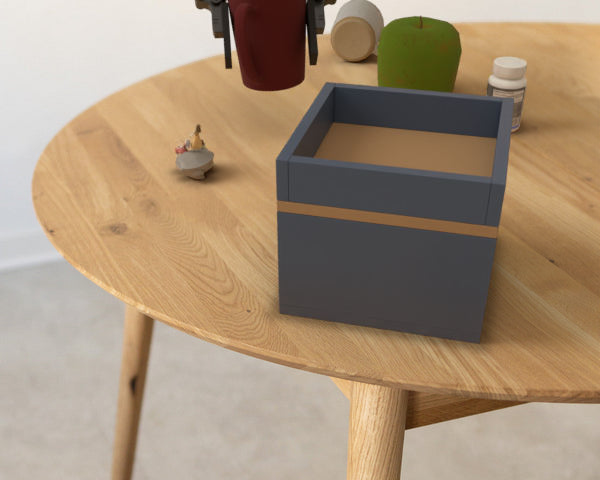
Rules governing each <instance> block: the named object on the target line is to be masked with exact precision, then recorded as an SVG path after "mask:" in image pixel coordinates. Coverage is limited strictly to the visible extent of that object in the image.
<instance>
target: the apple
mask: <svg viewBox="0 0 600 480" xmlns="http://www.w3.org/2000/svg"><path fill="white" fill-rule="evenodd" d="M461 42H462V41H461V36H460V32H459V31H458V30H457V28H456V27H455V26H454V25H453V24H452V23H450V22H448V21H447V20H442V19H439V18H433V17H430V16H429V17H428V16H422V15H413V16H405V17H400V18H395V19H393V20H391V21H389V23H387V24H386V25H384V28H383V29H382V30H381V35H380V39H379V42H378V44H377V45H378V47H377V56H376V58H377V59H376V60H377V61H376V65H377V66H376V68H377V71H376V73H377V86H379V87H390V88H402V89H413V90H425V91H436V92H448V93H452V92H453V91H454V90H455V85H456V81H457V76H458V71H459V66H460V62H461V57H462V52H463V49H462V43H461Z"/></svg>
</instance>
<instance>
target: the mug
mask: <svg viewBox="0 0 600 480" xmlns="http://www.w3.org/2000/svg"><path fill="white" fill-rule="evenodd" d="M226 2H228V9H229V20H230V25H231V29H232V34H233V40H234V45H235V50H236V55H237V60H238V65H239V70H240V71H239V72H240V76H241V81H242V84H243V86H244V87H245V88H248V89H249V90H253V91H258V92H278V91H285V90H290V89H292V88H294V87H297V86H299V85H301V84H302V83H304V81H305V78H306V56H307V55H306V51H307V26H306V10H307V0H227V1H226Z"/></svg>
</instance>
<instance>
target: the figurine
mask: <svg viewBox="0 0 600 480" xmlns="http://www.w3.org/2000/svg"><path fill="white" fill-rule="evenodd" d="M201 133H202V126H201V124H199V123H197V124H196V125H195V129H194V131H193V132H191V133H190V134H189V137H188V138H186V139H184V140H185V141H182V140H180V139H179V140H176V143H177V142H178V146H176V147H175V148H174V153H175V154H176V155H175V165H176V167H177V168H178V170H179V171H180V172H181V173H183V174H184V175H185V176H186V177H189V178H192V179H195V180H199V181H202V180H204V179H205V173H206V172H208V171H209V170H210V169H211V168H212V167H213V166H214V157H215V153H214V152H213V151H211V150H209V148H207V145H206V142H205V141H204V139H201V137H200V134H201ZM191 137H193V138H192V139H191ZM190 139H191V140H192V141H191V140H190ZM181 142H182V145H181ZM190 148H191V149H190Z"/></svg>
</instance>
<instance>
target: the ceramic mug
mask: <svg viewBox="0 0 600 480" xmlns="http://www.w3.org/2000/svg"><path fill="white" fill-rule="evenodd" d="M384 27H385V19H384V16H383V14H382V12H381V10H380V9H379V8H378V6H377V5H376V4H375V3H374V2H371V1H369V0H348V1H346V2H345V3H343V4H342V6H340V8H339V10H338V11H337V13H336V17H335V19H334V21H333V24H332V26H331V29H330V44H331V47H332V49H333V51H334V53H335V54H336V55H337V56H338V57H339V58H341V59H342V60H344V61H347V62H352V63H353V62H361V61H363V60H365V59H367V58H368V57H369V56H371V55H374V56H376V57H377V47H378V44H379V39H380V35H381V30H382V29H383V28H384Z"/></svg>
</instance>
